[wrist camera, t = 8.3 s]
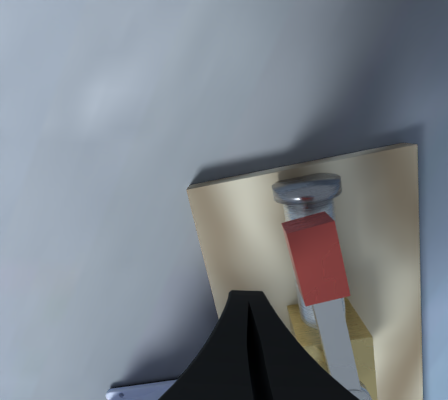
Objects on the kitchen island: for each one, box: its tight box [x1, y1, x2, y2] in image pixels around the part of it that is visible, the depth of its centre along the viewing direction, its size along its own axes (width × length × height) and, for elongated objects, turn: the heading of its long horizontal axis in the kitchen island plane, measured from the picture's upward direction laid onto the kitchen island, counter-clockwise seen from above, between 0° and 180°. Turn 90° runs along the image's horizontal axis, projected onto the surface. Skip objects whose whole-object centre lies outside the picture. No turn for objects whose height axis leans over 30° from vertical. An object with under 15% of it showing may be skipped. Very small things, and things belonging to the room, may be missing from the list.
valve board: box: [187, 143, 423, 400], centre depth 22 cm, size 15×26×2 cm, turn 12°
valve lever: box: [281, 211, 372, 400], centre depth 15 cm, size 13×2×1 cm, turn 17°
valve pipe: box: [272, 173, 378, 400], centre depth 19 cm, size 4×25×6 cm, turn 12°
